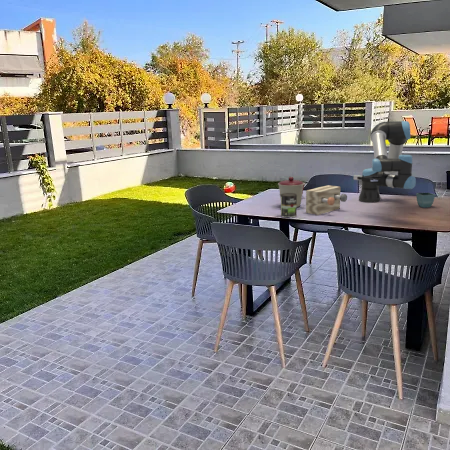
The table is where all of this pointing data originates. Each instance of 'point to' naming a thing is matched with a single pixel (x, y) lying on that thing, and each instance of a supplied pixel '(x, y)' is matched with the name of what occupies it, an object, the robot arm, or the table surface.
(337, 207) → the stand
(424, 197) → the flower pot
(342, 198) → the grey plunger
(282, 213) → the coffee can
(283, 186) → the canister
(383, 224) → the table surface
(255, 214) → the table surface
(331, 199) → the terracotta plunger
